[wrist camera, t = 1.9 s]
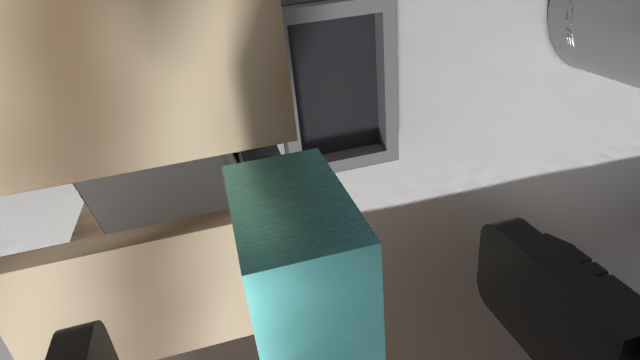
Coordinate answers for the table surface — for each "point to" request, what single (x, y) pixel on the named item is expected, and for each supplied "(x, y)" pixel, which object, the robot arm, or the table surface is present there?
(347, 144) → the tray
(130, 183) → the small box
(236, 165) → the slider
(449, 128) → the table surface
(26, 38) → the tunnel
